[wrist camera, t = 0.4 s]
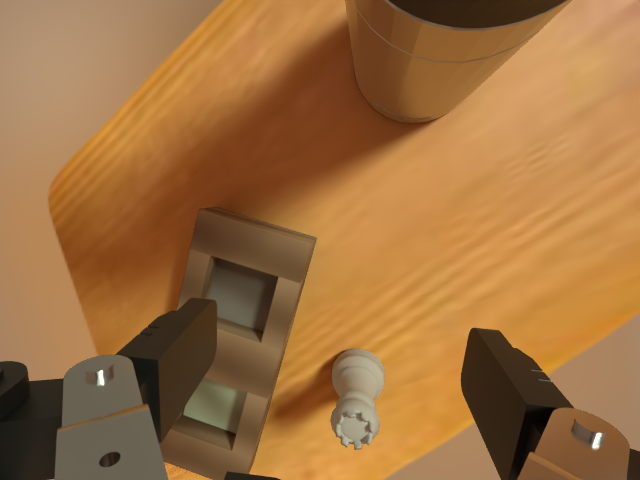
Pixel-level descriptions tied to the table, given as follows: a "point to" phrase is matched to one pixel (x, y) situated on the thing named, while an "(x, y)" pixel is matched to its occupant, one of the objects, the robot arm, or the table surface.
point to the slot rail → (237, 336)
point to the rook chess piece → (356, 396)
